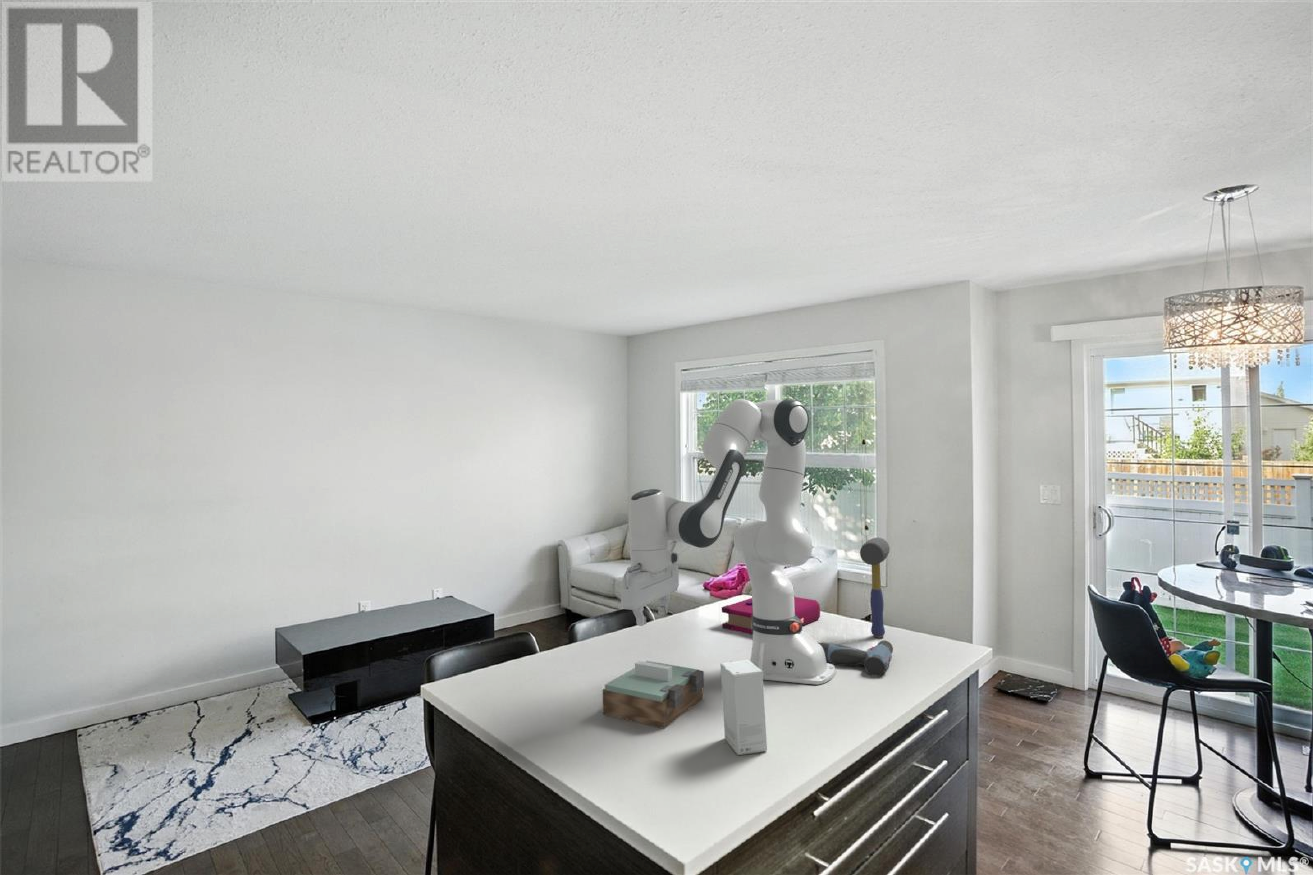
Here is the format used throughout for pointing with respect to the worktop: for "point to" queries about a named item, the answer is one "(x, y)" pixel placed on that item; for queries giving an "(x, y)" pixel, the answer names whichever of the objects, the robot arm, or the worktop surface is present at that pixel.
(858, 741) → the worktop surface
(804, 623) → the book
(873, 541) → the rubber mallet
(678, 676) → the green lid with handle
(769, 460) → the robot arm
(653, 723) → the wooden crate tray
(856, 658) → the power drill
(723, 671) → the skincare box
